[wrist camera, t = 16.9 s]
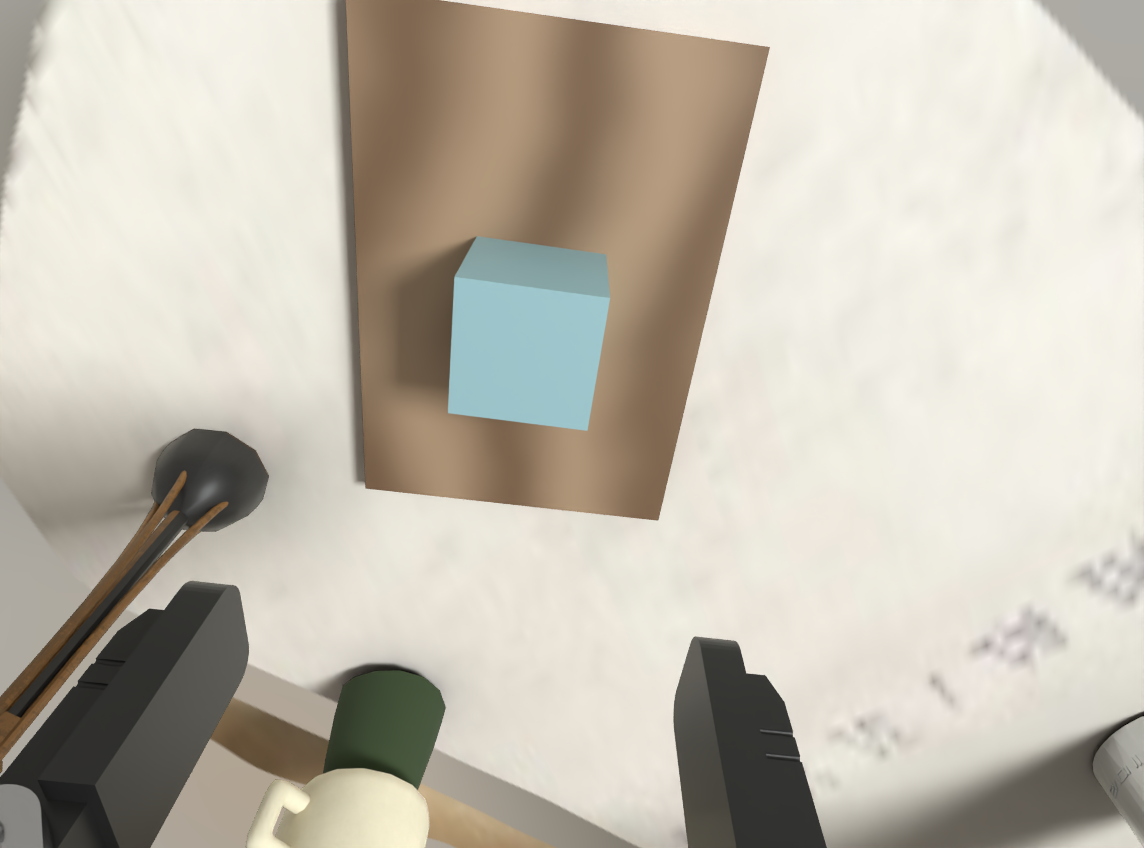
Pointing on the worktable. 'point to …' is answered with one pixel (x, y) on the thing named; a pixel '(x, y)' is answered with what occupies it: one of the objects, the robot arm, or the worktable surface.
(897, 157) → the worktable surface
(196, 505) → the wooden tabletop sculpture
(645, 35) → the walnut board
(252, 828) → the character mug
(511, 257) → the teal cube
